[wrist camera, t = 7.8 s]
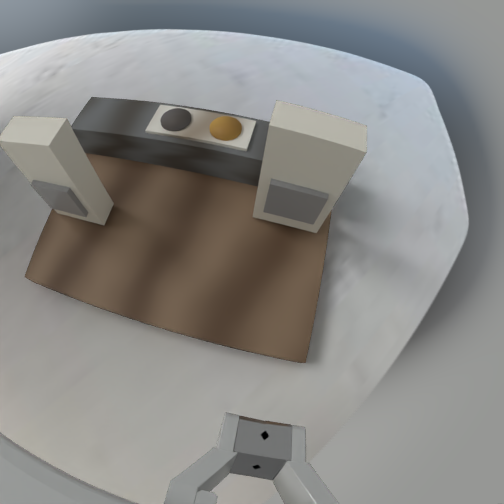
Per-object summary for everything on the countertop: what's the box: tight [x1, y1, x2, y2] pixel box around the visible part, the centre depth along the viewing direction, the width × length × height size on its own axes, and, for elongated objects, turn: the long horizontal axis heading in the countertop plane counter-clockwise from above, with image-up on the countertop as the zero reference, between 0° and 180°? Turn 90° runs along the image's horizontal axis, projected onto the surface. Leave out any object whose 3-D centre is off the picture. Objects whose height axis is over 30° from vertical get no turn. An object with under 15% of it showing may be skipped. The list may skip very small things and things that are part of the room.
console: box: [25, 97, 331, 363], centre depth 23 cm, size 23×18×6 cm
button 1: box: [253, 100, 367, 233], centre depth 19 cm, size 5×2×10 cm, turn 77°
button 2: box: [0, 116, 114, 225], centre depth 18 cm, size 5×2×10 cm, turn 77°
